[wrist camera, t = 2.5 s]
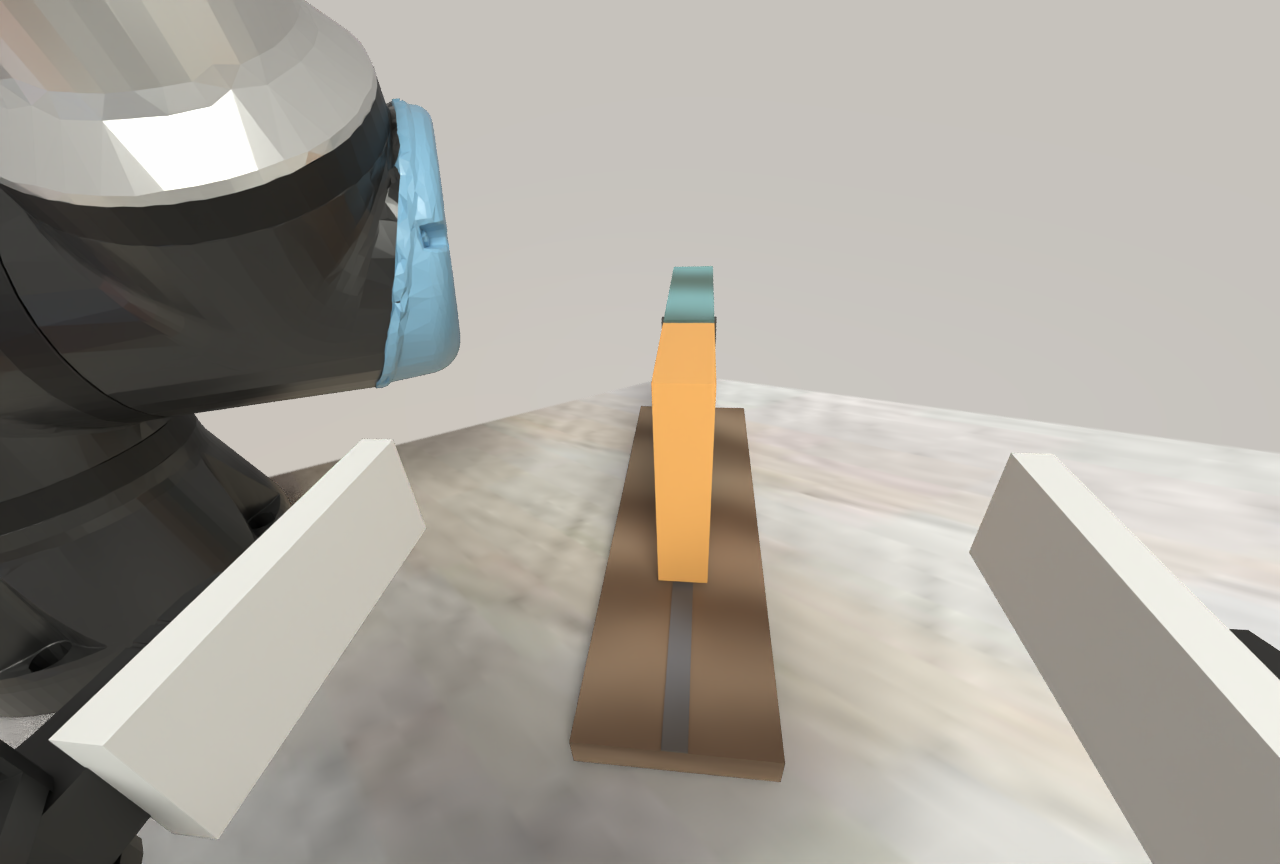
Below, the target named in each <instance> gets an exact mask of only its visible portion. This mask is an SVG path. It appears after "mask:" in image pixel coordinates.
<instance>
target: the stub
mask: <svg viewBox="0 0 1280 864" xmlns="http://www.w3.org/2000/svg"><path fill="white" fill-rule="evenodd" d="M651 387H652V415H653V443H654V471H655V498H656V526H657V554H658V580H663V581H680V582H697V583H707V580H708V558H709V535H710V513H711V491H712V468H713V446H714V423H715V401H716V360H715V326H714V323H663V326H662V331H661V337H660V342H659V347H658V352H657V357H656V362H655V367H654V372H653V378H652V382H651Z"/></svg>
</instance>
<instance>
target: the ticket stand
mask: <svg viewBox="0 0 1280 864" xmlns="http://www.w3.org/2000/svg"><path fill="white" fill-rule="evenodd" d="M713 295H714V293H713V267H712V266H705V267H704V266H703V267H674V270H673V275H672V280H671V285H670V290H669V296H668V301H667V305H666V311H665V316H664V317H662V326H663V323H714V326H715V342H716V317H714V296H713ZM569 743H570V747H571V751H572V755H573V759H574V761H582V762H592V763H602V764H611V765H621V766H631V767H640V768H650V769H660V770H669V771H679V772H689V773H698V774H708V775H718V776H727V777H737V778H747V779H756V780H766V781H776V782H781V778H782V774H783V770H784V766H785V759H784V750H783V742H782V733H781V724H780V716H779V707H778V699H777V690H776V681H775V673H774V664H773V656H772V647H771V638H770V630H769V621H768V612H767V604H766V595H765V587H764V578H763V569H762V561H761V552H760V544H759V535H758V526H757V518H756V509H755V500H754V492H753V483H752V475H751V466H750V457H749V449H748V440H747V432H746V423H745V414H744V408H715V423H714V446H713V468H712V491H711V513H710V535H709V558H708V580H707V583H697V582H680V581H663V580H658V554H657V526H656V498H655V471H654V443H653V415H652V407H650V406H641V409H640V413H639V418H638V423H637V427H636V432H635V437H634V441H633V446H632V451H631V455H630V460H629V465H628V469H627V474H626V479H625V483H624V488H623V493H622V498H621V502H620V507H619V512H618V516H617V521H616V526H615V530H614V535H613V540H612V544H611V549H610V554H609V558H608V563H607V568H606V572H605V577H604V582H603V586H602V591H601V596H600V600H599V605H598V610H597V614H596V619H595V624H594V628H593V633H592V638H591V643H590V647H589V652H588V657H587V661H586V666H585V671H584V675H583V680H582V685H581V689H580V694H579V699H578V703H577V708H576V713H575V717H574V722H573V727H572V731H571V736H570V741H569Z"/></svg>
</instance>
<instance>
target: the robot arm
mask: <svg viewBox="0 0 1280 864" xmlns="http://www.w3.org/2000/svg"><path fill="white" fill-rule="evenodd" d="M399 100H400V99H392V101H391V102H389V103H387V104H386V103H385V100H384V97H383V94H382V92H381V88H380V85H379V82H378V80H377V76H376V73H375V70H374V67H373V65H372V62H371V60H370V58H369V56H368V54H367V52H366V50H365V48H364V47H363V45H362V44H361V42H360V41H359V40H358V39H357V38H356V37H355V36H354V35H352V34H351V33H350V32H349V31H348V30H346V29H345V28H344V27H342V26H341V25H339V24H338V23H337V22H335V21H333V20H332V19H331V18H329V17H328V16H326V15H325V14H323V13H322V12H321V11H319V10H318V9H316V8H315V7H313V6H312V5H311V4H309V3H308V2H306V1H305V0H0V717H28V716H37V715H43V714H49V713H54V712H56V713H55V714H54V715H53V716H52V717H51V718H50V719H49V720H48V721H47V722H46V723H45V724H44V725H42V726H41V727H40V728H39V729H38V730H37V731H36V732H35V733H34V734H33V735H31V736H30V737H29V738H28V739H27V740H26V741H24V742H23V743H22V744H21V745H20V746H18V747H17V748H16V749H13V748H12V747H10V746H9V745H8V744H6V743H5V742H3V741H2V740H0V864H142V858H143V847H142V839H141V838H139V837H138V836H137V835H136V834H137V833H138V832H139V830H140V829H141V828H142V827H143V825H144V824H145V823H146V821H147V820H148V819H149V818H150V817H151V818H153V819H154V820H155V821H157V822H158V823H159V824H161V825H162V826H163V827H165V828H166V829H167V830H169V831H170V832H171V833H173V834H178V835H186V836H194V837H201V838H209V839H217V840H218V839H219V838H220V836H221V835H222V833H223V832H224V830H225V829H226V827H227V826H228V824H229V823H230V821H231V820H232V818H233V817H234V815H235V814H236V812H237V811H238V809H239V808H240V806H241V805H242V803H243V802H244V800H245V799H246V797H247V796H248V794H249V793H250V791H251V790H252V788H253V787H254V785H255V784H256V782H257V781H258V779H259V778H260V776H261V775H262V773H263V772H264V770H265V769H266V767H267V766H268V764H269V763H270V761H271V760H272V758H273V757H274V756H275V754H276V753H277V751H278V750H279V748H280V747H281V745H282V744H283V742H284V741H285V739H286V738H287V736H288V735H289V733H290V732H291V730H292V729H293V727H294V726H295V724H296V723H297V721H298V720H299V718H300V717H301V715H302V714H303V712H304V711H305V709H306V708H307V706H308V705H309V703H310V702H311V700H312V699H313V697H314V696H315V694H316V693H317V691H318V690H319V688H320V687H321V685H322V684H323V682H324V681H325V679H326V678H327V676H328V675H329V673H330V672H331V670H332V669H333V667H334V666H335V664H336V663H337V661H338V660H339V658H340V657H341V655H342V654H343V652H344V651H345V649H346V648H347V646H348V645H349V643H350V642H351V640H352V639H353V637H354V636H355V634H356V633H357V631H358V630H359V628H360V627H361V625H362V624H363V622H364V621H365V619H366V618H367V616H368V615H369V613H370V612H371V610H372V609H373V607H374V606H375V604H376V603H377V601H378V600H379V598H380V597H381V595H382V594H383V592H384V591H385V589H386V588H387V586H388V585H389V583H390V582H391V580H392V579H393V577H394V576H395V574H396V573H397V571H398V570H399V568H400V567H401V565H402V564H403V563H404V561H405V560H406V558H407V557H408V555H409V554H410V552H411V551H412V549H413V548H414V546H415V545H416V543H417V542H418V540H419V539H420V537H421V536H422V534H423V533H424V531H425V530H426V526H425V523H424V520H423V518H422V515H421V512H420V510H419V507H418V504H417V502H416V499H415V496H414V494H413V491H412V488H411V486H410V483H409V481H408V478H407V475H406V473H405V470H404V467H403V465H402V462H401V459H400V457H399V454H398V451H397V449H396V446H395V443H394V441H393V439H361V440H360V441H359V442H358V443H357V444H356V445H355V446H354V447H353V448H352V449H351V450H350V451H349V452H348V453H347V454H346V455H345V456H344V457H343V458H342V459H341V460H340V461H339V462H337V463H336V464H335V465H334V466H333V467H332V468H331V469H330V470H329V471H328V472H327V473H326V474H325V475H324V476H323V477H322V478H321V479H320V480H319V481H318V482H317V483H316V484H315V485H313V486H312V487H311V488H310V489H309V490H308V491H307V492H306V493H305V494H304V495H303V496H302V497H301V498H300V499H299V500H298V501H297V502H296V503H295V504H294V505H293V506H291V504H290V502H289V500H288V499H287V497H286V495H285V493H284V492H283V491H282V490H281V488H280V487H279V486H278V485H277V484H276V483H275V482H274V481H272V480H271V479H270V478H268V477H267V476H265V475H264V474H263V473H262V472H261V471H259V470H258V469H257V468H255V467H254V466H253V465H251V464H250V463H249V462H248V461H246V460H245V459H244V458H243V457H241V456H240V455H239V454H237V453H236V452H235V451H234V450H232V449H231V448H230V447H228V446H227V445H226V444H225V443H223V442H222V441H221V440H219V439H218V438H217V437H216V436H214V435H213V434H212V433H210V432H209V431H208V430H207V429H205V428H204V426H203V425H202V424H201V423H200V421H199V420H198V419H197V417H196V416H195V414H194V413H199V412H206V411H214V410H220V409H227V408H234V407H240V406H248V405H255V404H261V403H268V402H275V401H282V400H288V399H296V398H303V397H310V396H317V395H323V394H329V393H337V392H344V391H351V390H358V389H365V388H372V387H376V388H383V387H385V386H388V385H389V384H390V383H391V382H393V381H398V380H403V379H407V378H412V377H416V376H421V375H425V374H430V373H434V372H437V371H440V370H442V369H444V368H445V367H447V366H448V365H449V364H450V363H451V362H452V361H453V360H454V359H455V357H456V355H457V353H458V350H459V347H460V329H459V320H458V312H457V304H456V296H455V288H454V280H453V272H452V266H451V258H450V251H449V244H448V237H447V227H446V220H445V213H444V202H443V194H442V186H441V179H440V171H439V164H438V157H437V150H436V143H435V136H434V129H433V123H432V119H431V117H430V115H429V113H428V112H427V111H426V110H425V109H424V108H422V107H420V106H418V105H412V104H407V103H406V102H405V101H403V100H402V101H399ZM969 553H970V555H971V556H972V558H973V560H974V561H975V563H976V565H977V567H978V568H979V570H980V572H981V573H982V575H983V577H984V578H985V580H986V582H987V584H988V585H989V587H990V589H991V590H992V592H993V594H994V595H995V597H996V599H997V600H998V602H999V604H1000V606H1001V607H1002V609H1003V611H1004V612H1005V614H1006V616H1007V617H1008V619H1009V621H1010V623H1011V624H1012V626H1013V628H1014V629H1015V631H1016V633H1017V634H1018V636H1019V638H1020V639H1021V641H1022V643H1023V645H1024V646H1025V648H1026V650H1027V651H1028V653H1029V655H1030V656H1031V658H1032V660H1033V662H1034V663H1035V665H1036V667H1037V668H1038V670H1039V672H1040V673H1041V675H1042V677H1043V679H1044V680H1045V682H1046V684H1047V685H1048V687H1049V689H1050V690H1051V692H1052V694H1053V695H1054V697H1055V699H1056V701H1057V702H1058V704H1059V706H1060V707H1061V709H1062V711H1063V712H1064V714H1065V716H1066V718H1067V719H1068V721H1069V723H1070V724H1071V726H1072V728H1073V729H1074V731H1075V733H1076V734H1077V736H1078V738H1079V740H1080V741H1081V743H1082V745H1083V746H1084V748H1085V750H1086V751H1087V753H1088V755H1089V757H1090V758H1091V760H1092V762H1093V763H1094V765H1095V767H1096V768H1097V770H1098V772H1099V774H1100V775H1101V777H1102V779H1103V780H1104V782H1105V784H1106V785H1107V787H1108V789H1109V790H1110V792H1111V794H1112V796H1113V797H1114V799H1115V801H1116V802H1117V804H1118V806H1119V807H1120V809H1121V811H1122V813H1123V814H1124V816H1125V818H1126V819H1127V821H1128V823H1129V824H1130V826H1131V828H1132V829H1133V831H1134V833H1135V835H1136V836H1137V838H1138V840H1139V841H1140V843H1141V845H1142V846H1143V848H1144V850H1145V852H1146V853H1147V855H1148V857H1149V858H1150V860H1151V862H1152V863H1153V864H1280V651H1279V650H1277V649H1276V648H1274V647H1273V646H1271V645H1270V644H1268V643H1267V642H1265V641H1264V640H1262V639H1261V638H1259V637H1258V636H1256V635H1255V634H1253V633H1252V632H1250V631H1249V630H1237V629H1228V628H1227V627H1226V626H1225V625H1224V624H1223V623H1222V622H1221V621H1220V620H1219V619H1218V618H1217V617H1216V616H1215V615H1214V614H1213V613H1212V612H1211V611H1210V610H1209V609H1208V608H1207V607H1206V606H1205V605H1204V604H1203V603H1202V602H1201V601H1200V600H1199V599H1198V598H1197V597H1196V596H1195V595H1194V594H1193V593H1192V592H1191V591H1190V590H1189V589H1188V588H1187V587H1186V586H1185V585H1184V584H1183V583H1182V582H1181V581H1180V580H1179V579H1178V578H1177V577H1176V576H1175V575H1174V574H1173V573H1172V572H1171V571H1170V570H1169V569H1168V568H1167V567H1166V566H1165V565H1164V564H1163V563H1162V562H1161V561H1160V560H1159V559H1158V558H1157V557H1156V556H1155V555H1154V554H1153V553H1152V552H1151V551H1150V550H1149V549H1148V548H1147V547H1146V546H1145V545H1144V544H1143V543H1142V542H1141V541H1140V540H1139V539H1138V538H1137V537H1136V536H1135V535H1134V534H1133V533H1132V532H1131V531H1130V530H1129V529H1128V528H1127V527H1126V526H1125V525H1124V524H1123V523H1122V522H1121V521H1120V520H1119V519H1118V518H1117V517H1116V516H1115V515H1114V514H1113V513H1112V512H1111V511H1110V510H1109V509H1108V508H1107V507H1106V506H1105V505H1104V504H1103V503H1102V502H1101V501H1100V500H1099V499H1098V498H1097V497H1096V496H1095V495H1094V494H1093V493H1092V492H1091V491H1090V490H1089V489H1088V488H1087V487H1086V486H1085V485H1084V484H1083V483H1082V482H1081V481H1080V480H1079V479H1078V478H1077V477H1076V476H1075V475H1074V474H1073V473H1072V472H1071V471H1070V470H1069V469H1068V468H1067V467H1066V466H1065V465H1064V464H1063V463H1062V462H1061V461H1060V460H1059V459H1058V458H1057V457H1056V456H1055V455H1054V454H1037V453H1011V454H1010V457H1009V459H1008V461H1007V464H1006V466H1005V469H1004V471H1003V473H1002V476H1001V478H1000V480H999V483H998V485H997V487H996V490H995V492H994V495H993V497H992V499H991V502H990V504H989V506H988V509H987V511H986V513H985V516H984V518H983V521H982V523H981V525H980V528H979V530H978V532H977V535H976V537H975V539H974V542H973V544H972V547H971V549H970V551H969Z"/></svg>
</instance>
